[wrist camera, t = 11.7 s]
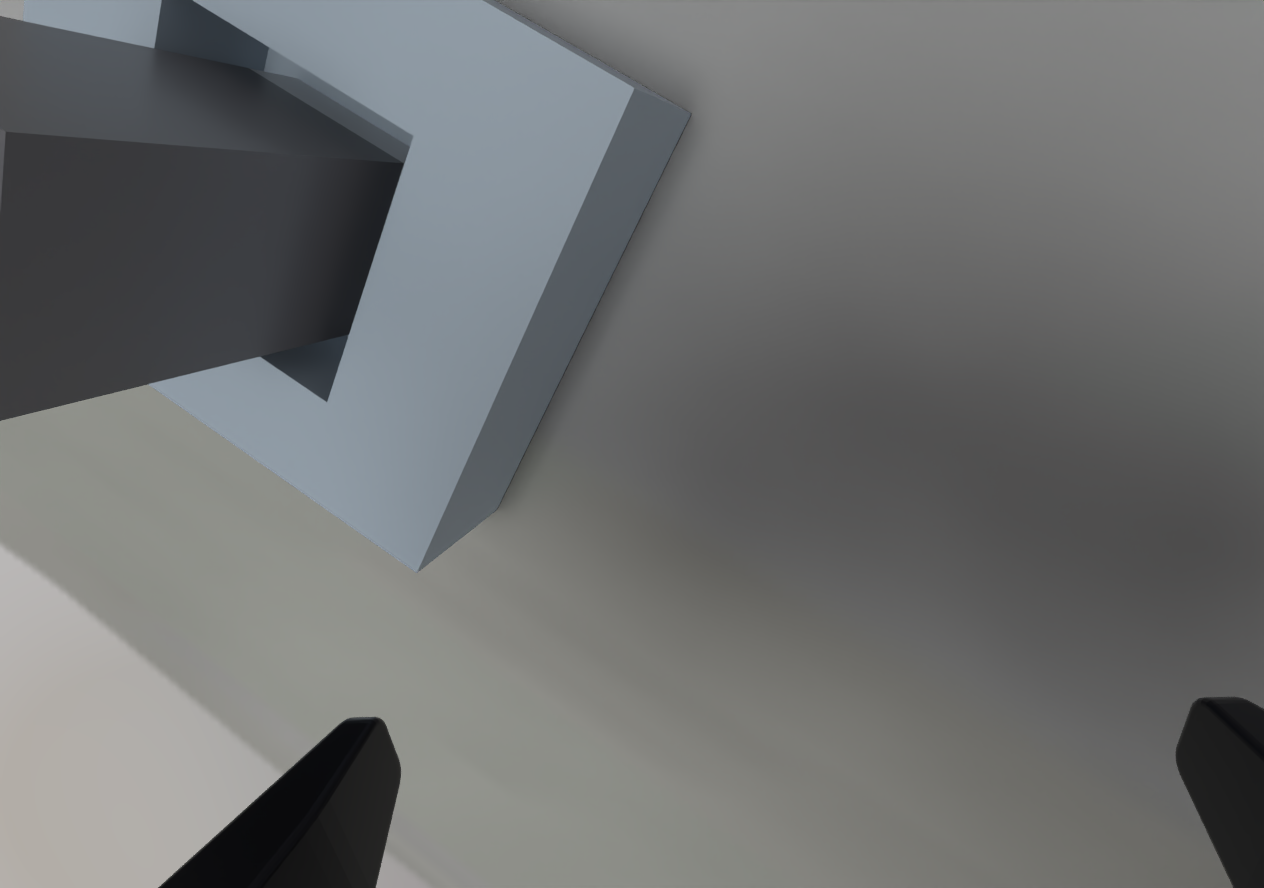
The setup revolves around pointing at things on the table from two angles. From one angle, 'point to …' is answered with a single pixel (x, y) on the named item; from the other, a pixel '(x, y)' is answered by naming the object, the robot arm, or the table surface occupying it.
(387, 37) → the socket block
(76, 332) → the plug
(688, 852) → the table surface
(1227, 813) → the robot arm
